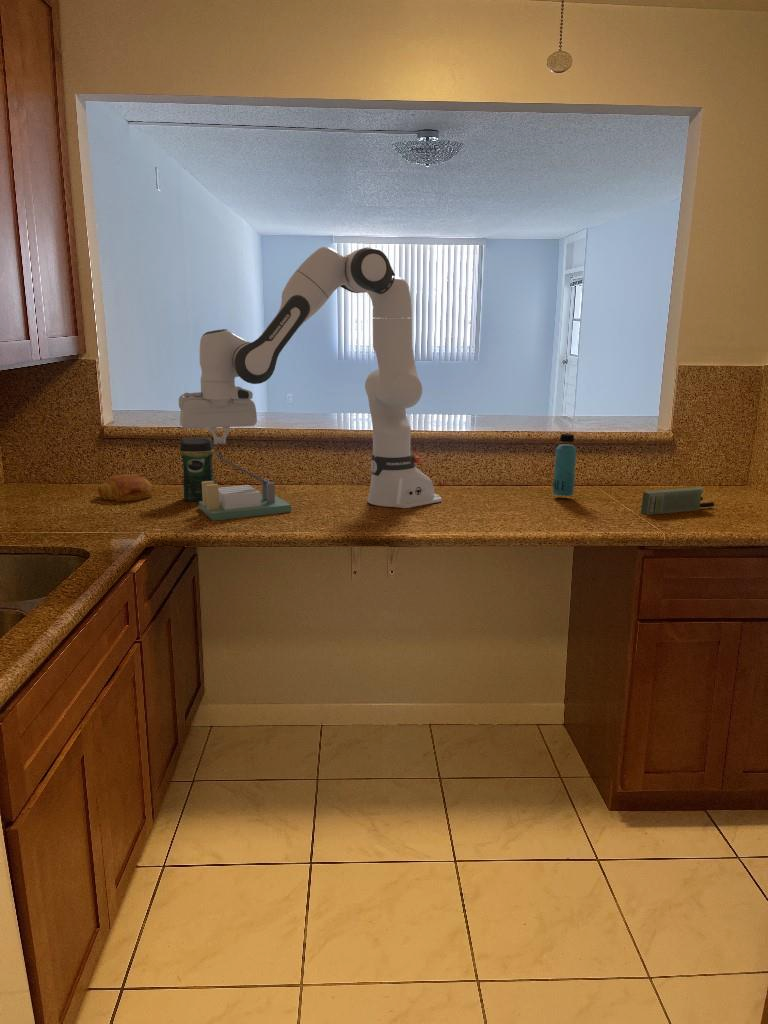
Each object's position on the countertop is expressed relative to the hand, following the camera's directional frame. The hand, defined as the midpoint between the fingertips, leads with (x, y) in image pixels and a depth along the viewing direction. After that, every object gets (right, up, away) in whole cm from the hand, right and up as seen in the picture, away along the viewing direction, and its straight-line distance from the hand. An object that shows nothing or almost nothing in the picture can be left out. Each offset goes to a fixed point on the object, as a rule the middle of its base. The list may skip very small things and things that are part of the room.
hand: (219, 443), depth 187 cm
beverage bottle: (+100, -15, +26) cm, 104 cm away
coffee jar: (-11, -15, +20) cm, 27 cm away
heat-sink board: (+5, -18, +8) cm, 20 cm away
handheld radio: (+130, -19, +13) cm, 132 cm away
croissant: (-33, -14, +22) cm, 42 cm away
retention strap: (+5, -8, +5) cm, 10 cm away
